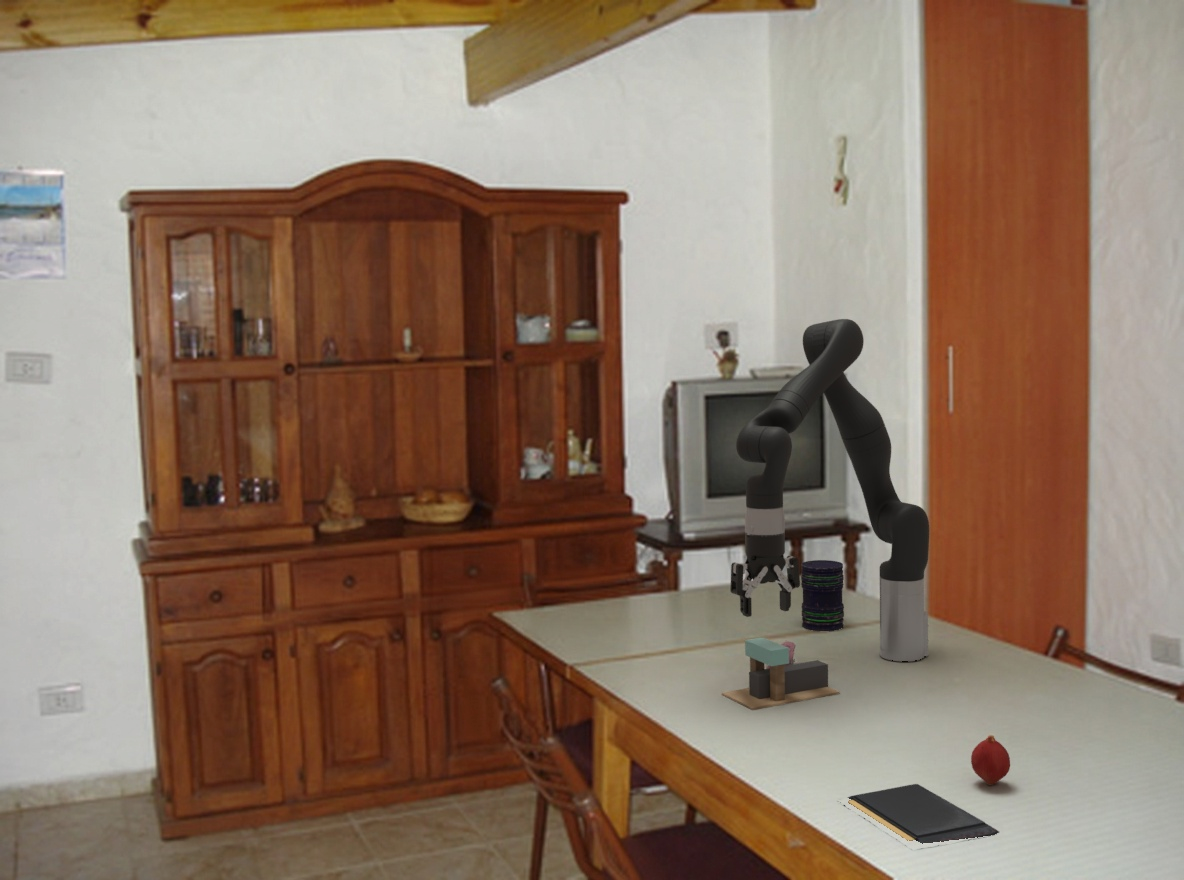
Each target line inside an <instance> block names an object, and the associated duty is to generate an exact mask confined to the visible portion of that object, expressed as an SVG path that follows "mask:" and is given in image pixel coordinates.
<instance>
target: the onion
mask: <svg viewBox="0 0 1184 880" xmlns="http://www.w3.org/2000/svg"><path fill="white" fill-rule="evenodd" d="M1010 759H1011V758H1010V755H1009V752H1008V751H1007V749H1006V748H1005V747H1004V745H1003V744H1001V743H1000V742H999V741H998V740H997V739H996V737H995V736H994V735H992V734H989V735H988V736H987V738H985V739H984V740H982V741H980V742H979V743H978V744H977V745H976V746H975V747H974V748H973V750H972V752H971V757H970V763H971V767H972V770H973V771H974V773H975V774H976V775H977V776H978V777H979V778H981V780H983V781H984V782H985V783H986V784H987V785H989V786H994V785H995V784H997V783H998V782H999V781H1001V780H1002V779H1003V778H1005V777H1006V776H1007V774H1008V773H1009V772H1010V768H1011V760H1010Z"/></svg>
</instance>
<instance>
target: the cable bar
mask: <svg viewBox="0 0 1184 880" xmlns="http://www.w3.org/2000/svg"><path fill="white" fill-rule="evenodd" d="M784 667H785V694H791V693H796V692H802V691H807V690H813V689H818V688H824V687H829V664H828V663H825V662H823V661H820V660H818V659H817V660H811V661H806V662H805V661H804V662H799V663H793V664H792V663H791V664H789V665H786V666H784ZM748 675H749V676H748V677H749V678H748V683H749V684H748V688H749V695H751V696H754V697H756V698H758V699H764V698H769V697H770V668H769V669H766V668H764V669H763V670H757V671H751V672H750V671H749V672H748Z"/></svg>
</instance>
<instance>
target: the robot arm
mask: <svg viewBox="0 0 1184 880" xmlns="http://www.w3.org/2000/svg"><path fill="white" fill-rule="evenodd" d="M802 346H803V351H804V355H805V358H806V360H807V362H808V364H809V365H808V366H807V367H805V368H804V369H803V370H801V371H800V372H799V373H798V374H796V375H795V376H793V377H792V378H791V379H789V380H788V381H787V382H786V383H785V384H784V385H783V386H782V387H781V389H779V391H778V392H777V394H776V395H775V396H774V398H773V399H772V401H771V402H770V403H769V405H768V406H767V407H766V408H764V410H761V411H760V412H759V413H758V414H757V415H755V417H753V418H752V419H751V420H749V421H748V422H747V423H746V424H745V425H744V426H743V427H742V429H741V430H740V431H739V433H738V435H737V437H736V442H735V448H736V452H737V454H738V457H740V458H741V459H742V460H743V461H745V462H749V463H755V464H756V463H758V464H759V463H760V464H765V466H764V470H763V472H762V474H755V475H752V476H749V477H748V478H747V479H746V483H745V504H746V505H745V514H744V515H745V516H744V533H745V534H744V538H745V539H744V542H745V543H744V544H745V545H744V546H745V547H744V548H745V551H744V552H745V557H746V559H745V562H741V563H740V562H739V563H738V562H732V563H731V567H730V571H731V572H730V593H731V594H734V595H736V596H739V602H740V603H739V609H740V613H742V616H743V617H747V618H749V617H752V597H751V595H752V593H753V592H754V591H755V589H757V588H758V586H759V585H760V584H761V585H762V584H766V583H776V584H777V586H778V588H779V589H780V590H779V610H780V611H783V612H789V611H790V609H791V606H792V591H793V590H794V589H797V588H800V587H801V586H800V585H801V575H800V565H799V558H798V557H795V556H792V555H787V556H786V557H785V556H784V554H785V553H786V552H785V551H786V543H785V542H786V539H785V538H786V533H785V531H786V530H785V527H786V526H785V523H786V521H785V513H784V484H785V479H786V475H787V470H788V466H789V463H790V460H791V455H792V451H793V450H792V449H793V442H792V438H791V436H790V434H792V433H794V432H795V431H797V429H798V428H799V427H800V425H801V424H802V423H803V421H804V420H805V418H806V416H808V413H810V411H811V409H812V408H813V407H814V405H815V404H816V402H817V401H818V400H819V399H820V398H821V396H823V395H824V396H825V399H826V401H827V404H828V405H829V408H830V411H831V413H832V416H833V418H834V420H835V423H836V425H837V428H838V431H839V435H840V437H841V440H842V443H843V444H844V449H845V451H846V452H847V455H848V457H849V459H850V462H851V465H852V467H853V470H854V473H855V475H856V478H857V480H858V483H859V486H860V489H861V492H862V495H863V499H864V502H865V505H866V511H867V514H868V518H869V522H870V525H871V528H872V530H873V533H874V534H875V535H876V537H877V538H878V539H879V540H880V541H882V542H884V543H886V544H891V552H890V553H891V554H890V558H889V559H888V560H885V561H883V562H881V563H880V566H879V655H880V657H881V658H883V659H884V660H888V661H892V660H893V662H902V661H908V662H915V660H917V661H920V659H921V660H923V659H924V658H925V657H924V656H926V657H929V613H928V612H927V611H925V571H926V568H927V564H928V561H929V551H930V549H929V547H930V522H929V516H928V515H927V512H926V511H925V510H924V509H923V507H921V506H920V505H916V504H914V503H907V502H903V501H901V499H900V498H899V496H898V494H897V492H896V489H895V487H894V485H893V482H892V478H891V473H890V472H891V471H890V470H891V469H890V467H891V458H892V442H891V438H890V435H889V433H888V429H887V427H886V425H885V422H884V420H883V417H882V415H881V413H880V411H879V410H878V409H877V407H876V406H874V405H873V404H872V402H870V401H869V399H867V398H866V397H865V396H864V395H863V394H862V393H861V392H860V391H858V390H857V388H855V387H854V386H853V385H852V384H851V382H850V381H849V379H848V378H847V376H846V374H845V373H844V372H845V371H846V370H848V369H849V367H851V366H852V365H853V364H854V363H855V362H856V361H857V359H858V358H859V357H860V355H861V354H862V351H863V349H864V335H863V331H862V329H861V328H860V326H859V324H858V323H856V321H854V320H852V319H849V318H838V319H833V320H829V321H824V322H818V323H814V324H810V325H809V326H808V327H806V329H805V330H804V332H803V335H802ZM785 568H786V573H787V576H786V575H785V574H784V573H783V570H784V569H785ZM746 571H747V574H746ZM745 574H746V575H745ZM744 575H745V577H744ZM922 658H923V659H922Z"/></svg>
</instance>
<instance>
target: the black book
mask: <svg viewBox="0 0 1184 880" xmlns="http://www.w3.org/2000/svg"><path fill="white" fill-rule="evenodd" d="M847 798H849V799H851V800H849V801H848V803H849V804H851V805H853V806H854V807H856V808H857V809H859V810H861V811H862V812H864V813H865V814H867V815H868V816H870V817H872V818H873V819H875V820H876V821H878V822H879V823H881V824H883V825H884V826H886V827H887V828H889V829H890V830H892V831H893V832H895V833H896V834H898V835H900V836H901V837H902V838H905V839H906V840H907V841H908V840H909V841H913V840H916V841H918V842H920V843H922V844H923V843H933V842H940V841H941V842H944V841H949V840H959V839H965V838H966V839H968V838H975V837H977V838H978V837H983V836H988V837H992V836H995V834H996V835H997V833H998V834H1000V830H997V829H996V828H995V827H992V826H991V825H989V824H987V823H986V822H985V821H983V820H982V819H980V818H978V817H976V816H974V815H973V814H971V813H970V812H967V811H966V810H964V809H962V808H961V807H959V806H958V805H955V804H954V803H951V801H948V800H946V799H944V797H942V796H940V795H938V794H936V793H934V792H933V791H931V790H929V789H928V788H925V787H924V786H922V785H920V784H918V783H913V784H908V785H907V784H906V785H902V786H897V787H892V788H887V789H883V790H882V789H881V790H877V791H876V790H875V791H871V792H865V793H860V794H855V795H850V796H848V797H847ZM991 835H992V836H991ZM983 838H984V837H983ZM978 839H979V838H978Z"/></svg>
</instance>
